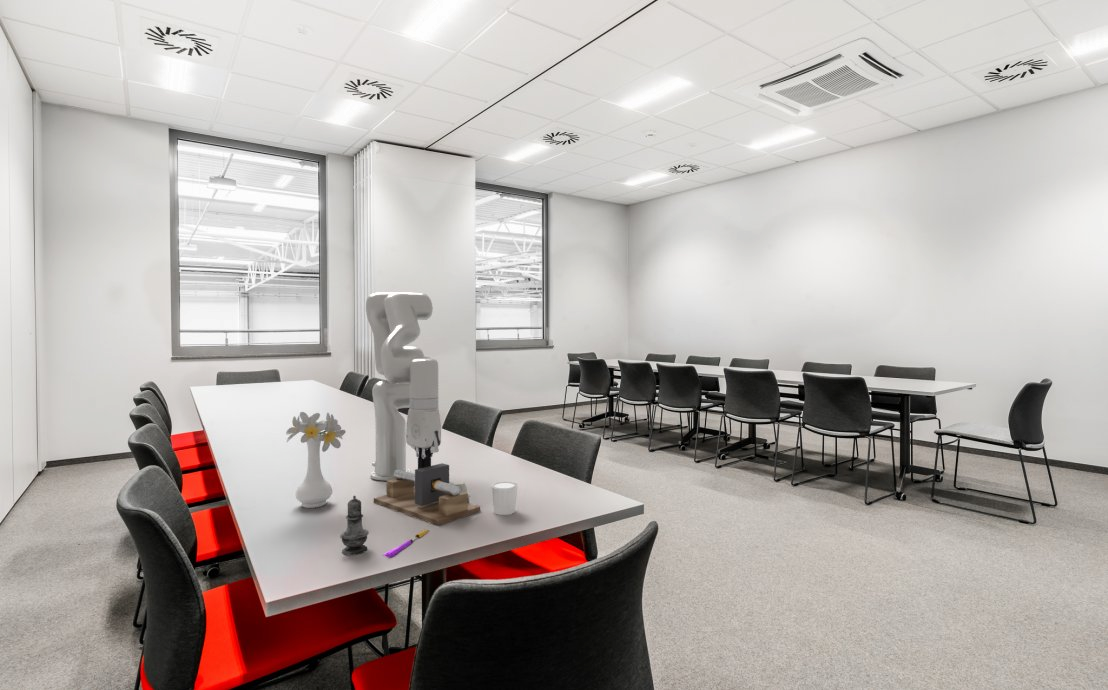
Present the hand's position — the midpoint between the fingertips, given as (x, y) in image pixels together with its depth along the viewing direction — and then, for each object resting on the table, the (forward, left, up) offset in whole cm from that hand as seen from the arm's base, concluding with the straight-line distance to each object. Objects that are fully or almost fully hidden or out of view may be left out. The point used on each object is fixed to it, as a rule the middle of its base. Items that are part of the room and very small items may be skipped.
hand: (424, 471), depth 147 cm
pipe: (0, 0, -4) cm, 4 cm away
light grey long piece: (-4, +9, -10) cm, 14 cm away
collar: (+3, 0, -7) cm, 8 cm away
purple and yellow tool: (+18, -18, -10) cm, 27 cm away
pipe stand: (0, 0, -10) cm, 10 cm away
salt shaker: (+12, -28, -10) cm, 32 cm away
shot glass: (+19, +11, -10) cm, 24 cm away
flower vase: (-24, -18, -10) cm, 31 cm away
